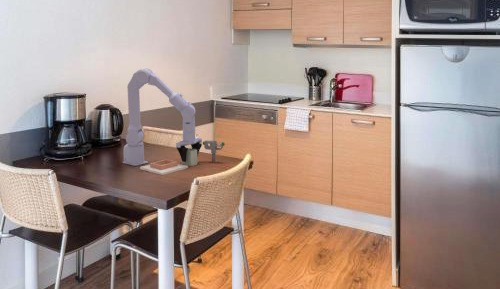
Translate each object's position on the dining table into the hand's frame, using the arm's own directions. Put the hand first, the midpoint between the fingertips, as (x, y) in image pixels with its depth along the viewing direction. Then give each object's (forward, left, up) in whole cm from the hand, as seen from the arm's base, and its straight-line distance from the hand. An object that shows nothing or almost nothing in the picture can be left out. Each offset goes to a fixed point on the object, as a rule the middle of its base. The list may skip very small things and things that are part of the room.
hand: (189, 160), depth 210 cm
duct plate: (-3, -13, -2) cm, 13 cm away
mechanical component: (+6, +10, -2) cm, 12 cm away
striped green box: (0, 0, -2) cm, 2 cm away
